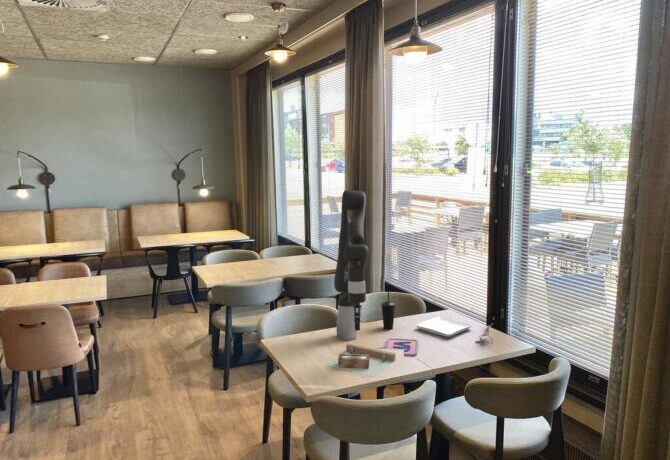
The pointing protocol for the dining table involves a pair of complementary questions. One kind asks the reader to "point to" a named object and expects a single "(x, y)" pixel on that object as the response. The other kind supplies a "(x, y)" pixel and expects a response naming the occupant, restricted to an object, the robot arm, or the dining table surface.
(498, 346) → the dining table surface
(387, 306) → the drinking cup
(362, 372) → the wall panel
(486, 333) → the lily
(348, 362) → the frame
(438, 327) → the salad plate
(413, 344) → the icon
